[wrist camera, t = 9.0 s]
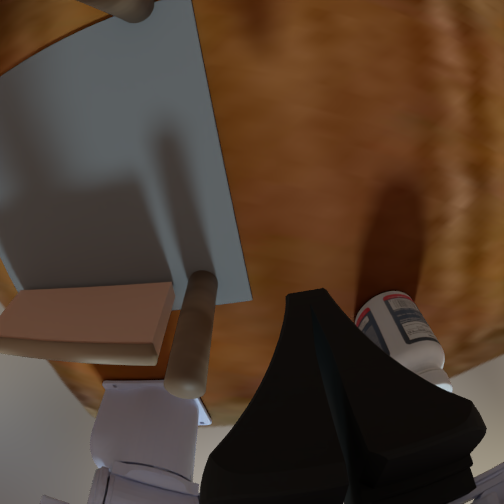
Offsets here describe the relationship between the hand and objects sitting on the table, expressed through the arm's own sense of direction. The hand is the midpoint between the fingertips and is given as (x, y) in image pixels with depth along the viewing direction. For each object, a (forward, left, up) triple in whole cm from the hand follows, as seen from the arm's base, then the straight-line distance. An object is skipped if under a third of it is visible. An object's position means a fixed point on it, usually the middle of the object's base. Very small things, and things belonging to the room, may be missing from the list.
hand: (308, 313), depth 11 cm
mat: (-13, +4, -9) cm, 16 cm away
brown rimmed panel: (-15, -3, -9) cm, 17 cm away
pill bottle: (+7, -10, -10) cm, 16 cm away
